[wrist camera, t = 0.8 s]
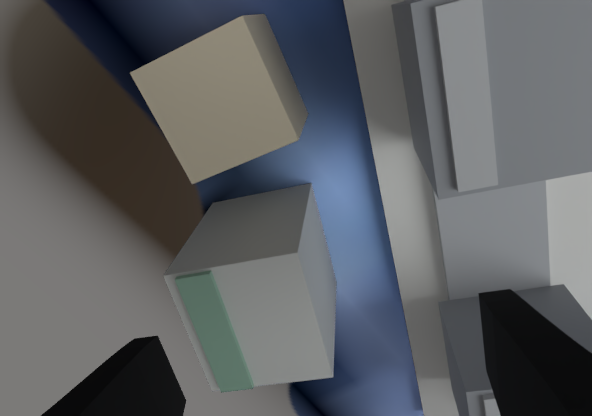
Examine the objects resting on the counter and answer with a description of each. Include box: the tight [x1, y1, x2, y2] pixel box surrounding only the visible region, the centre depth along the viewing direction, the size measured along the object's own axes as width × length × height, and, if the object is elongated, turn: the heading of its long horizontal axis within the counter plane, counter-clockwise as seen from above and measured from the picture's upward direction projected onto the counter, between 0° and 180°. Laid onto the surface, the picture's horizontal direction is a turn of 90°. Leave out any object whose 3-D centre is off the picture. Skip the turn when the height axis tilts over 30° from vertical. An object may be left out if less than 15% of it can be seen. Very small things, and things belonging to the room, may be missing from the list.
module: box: [163, 183, 337, 392], centre depth 18 cm, size 5×4×6 cm
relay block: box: [130, 14, 308, 184], centre depth 16 cm, size 4×4×4 cm
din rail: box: [343, 0, 592, 416], centre depth 16 cm, size 22×8×6 cm, turn 14°
